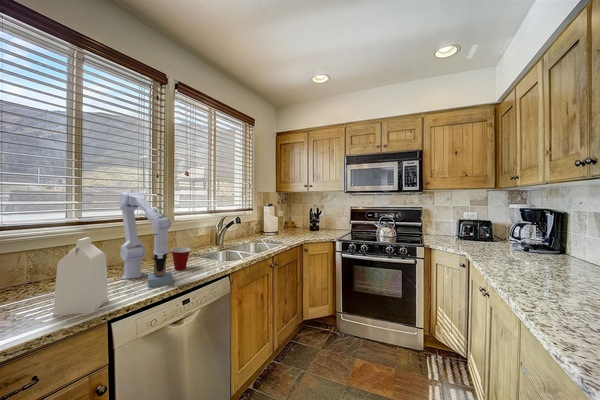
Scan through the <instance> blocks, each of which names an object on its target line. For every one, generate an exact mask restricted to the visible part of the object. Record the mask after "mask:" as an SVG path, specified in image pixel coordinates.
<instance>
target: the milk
mask: <svg viewBox="0 0 600 400" xmlns="http://www.w3.org/2000/svg"><path fill="white" fill-rule="evenodd" d="M107 265H108V264H107V255H106V253H105V252H104V251H102V250H101V249H100V248H98V247H97V246H95V245H94V244H92V238H91V237H88V236H87V237H84V238H80V239H77V242H76V244H75V247H73V248H72V249H70V250H69V251H68V253H67V254H66V255H64V256H63V257H61V259H60V260H59V261H58V262H57V264H56V274H55V276H56V278H55V287H54V288H55V290H54V300H53V312H52V317H53V316H55V317H56V316H66V315H67V316H68V314H69V315H79V314H78V313H81V314H90V313H94V312H95V311H96V310H97V309H98V308H100V306H102V305H103V304H104V303H106V302H107V301H108V300H109V295H108V291H109V290H108V273H107V272H108V270H107V269H108V267H107Z"/></svg>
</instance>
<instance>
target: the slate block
mask: <svg viewBox="0 0 600 400" xmlns="http://www.w3.org/2000/svg"><path fill="white" fill-rule="evenodd" d="M173 277H174V276H173V273H172V272H171V271H166V274H159V275H154V273H147V286H148V287H147V288H148V289H150V288H157V287H164V286H170V285H173V283H174V281H173V279H174V278H173Z"/></svg>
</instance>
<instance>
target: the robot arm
mask: <svg viewBox="0 0 600 400" xmlns="http://www.w3.org/2000/svg"><path fill="white" fill-rule="evenodd" d="M118 202H119V203H118V204H119V209H120V210H121V213H122V214H121V215H122V221H123V228H124V229H123V230H124V235H125V236H124V237H125V238H124V239H125V243H123V244H122V245H121V246H120V252H119V255H120V256H119V257H120V258H121V259H122V261H124V266H123V268H124V269H123V271H124V272H123V276H122V278H121V280H129V279H138V278H139V279H140V278H141V277H142V275H143V271H142V259H143V257H144V256H145V255H146V249H145V246H144V242H142V241H140V240H139V239H138V230H137V224H136V216H135V211H136V210H137V209H139V208H140V210H142V211H143V212H144V213H145V214H144V216H145V217H146V219H148V220H149V222H150V223H151V228H152V231H153V232H152V233H153V234H154V238H153V239H154V241H153V243H154V244H153V245H154V246H153V254H154V257H153V260H154V262H155V263H156V267H157V271H158V272H161V271H163V268H164V263H165V261H166V260H167V259H168V253H170V252H171V249H169V250H168V243H169V242H168V240H169V239H168V238H169V237H168V236H169V234H168V233H169V229H170V228H171V226H172V222H171V219H170V218H169V217H167V216H166V217H165V216H164V215H162V214H161V212H159V210H158V209H157V208H156V207H155V208H152V206H151V205H150V204H149V202H147V199H146V196H145V195H144V194H143V193H142V192H125V191H124V192H122V193H121V194H120V196H119V197H118Z"/></svg>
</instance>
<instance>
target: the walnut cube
mask: <svg viewBox="0 0 600 400" xmlns="http://www.w3.org/2000/svg"><path fill="white" fill-rule="evenodd" d="M166 266H167V262H166V261H165V263H164V268H163V271H161V272H158V271H157V267H156V263H155V261H154V263H153V274H154V275H159V274H166V272H167V270H166Z"/></svg>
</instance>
